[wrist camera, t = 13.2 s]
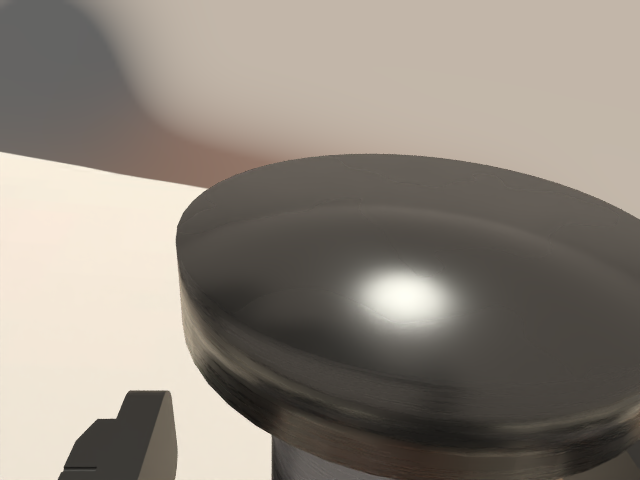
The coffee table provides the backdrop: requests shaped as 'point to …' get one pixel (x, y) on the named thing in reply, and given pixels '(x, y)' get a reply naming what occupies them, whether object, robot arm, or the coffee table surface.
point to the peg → (416, 317)
